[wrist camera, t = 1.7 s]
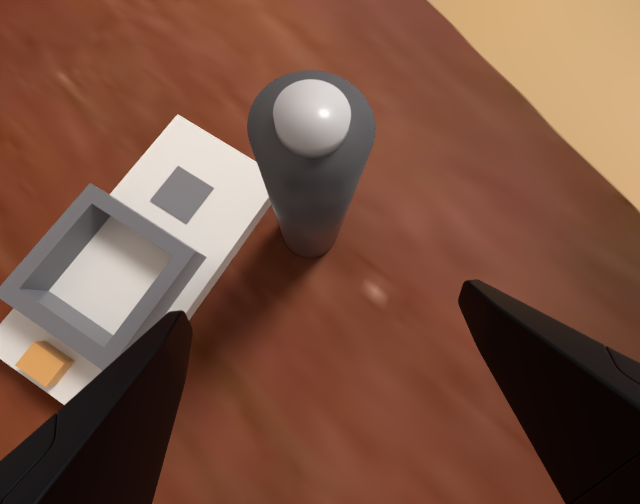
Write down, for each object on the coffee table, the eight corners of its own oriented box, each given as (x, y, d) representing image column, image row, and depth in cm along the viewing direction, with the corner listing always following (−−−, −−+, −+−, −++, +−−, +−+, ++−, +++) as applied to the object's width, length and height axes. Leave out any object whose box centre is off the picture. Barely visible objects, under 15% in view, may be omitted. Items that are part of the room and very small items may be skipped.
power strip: (117, 422, 19) (75, 447, 16) (6, 342, 20) (-58, 350, 16) (284, 186, 23) (279, 164, 19) (185, 126, 23) (164, 95, 20)
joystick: (339, 255, 22) (389, 170, 9) (284, 260, 22) (247, 181, 8) (333, 203, 23) (369, 52, 9) (280, 207, 22) (239, 58, 9)
